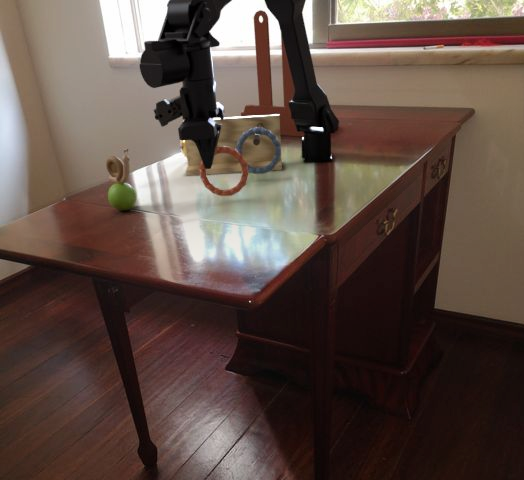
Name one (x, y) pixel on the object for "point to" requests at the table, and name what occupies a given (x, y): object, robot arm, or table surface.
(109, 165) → the snail figurine
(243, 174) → the terracotta ring
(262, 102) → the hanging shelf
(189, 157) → the peg rack
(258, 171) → the slate ring
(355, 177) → the table surface
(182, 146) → the ring
